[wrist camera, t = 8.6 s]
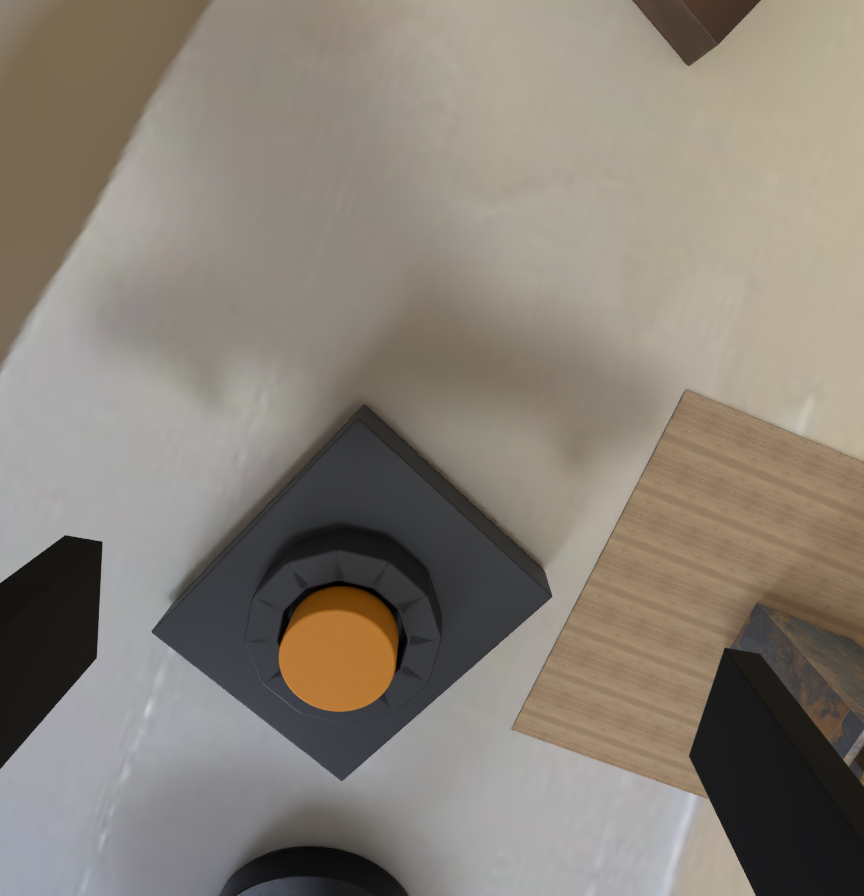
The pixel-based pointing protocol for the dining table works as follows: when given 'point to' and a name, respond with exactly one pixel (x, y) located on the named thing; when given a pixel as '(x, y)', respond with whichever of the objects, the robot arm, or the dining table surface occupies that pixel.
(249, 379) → the dining table surface
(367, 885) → the desk lamp
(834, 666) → the architectural model on board
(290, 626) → the button
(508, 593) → the switch box
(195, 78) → the dining table surface
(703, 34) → the dimmer panel
